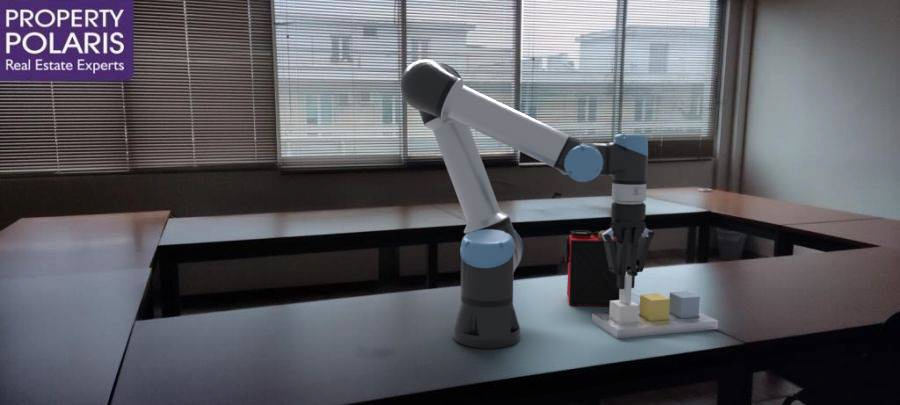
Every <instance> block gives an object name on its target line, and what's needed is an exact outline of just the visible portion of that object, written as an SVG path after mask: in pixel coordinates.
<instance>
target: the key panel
mask: <svg viewBox="0 0 900 405" xmlns="http://www.w3.org/2000/svg"><path fill="white" fill-rule="evenodd" d="M639 313H640V308H639ZM591 322H592V323H594V324H595V325H596V326H598V327H600V328H601V329H602V330H604V331H605V332H607V333H608V334H610V335H611V336H612V337H614V338H615V339H627V338H636V337H647V336H657V335H658V336H659V335H667V334H668V335H671V334H680V333H690V332H701V331H702V332H703V331H711V330H718V328H719V327H718V326H719V320H717V319H715V318H714V317H711V316H710V315H706V314H704V313H703V312H701V311H699V317H693V318H682V319H681V318H679V317H677V316H675V315H673V314H671V313H669V320H660V321H649V320H647V319H646V318H644V317H642V316H640V315H639V318H638V323H630V324H617V323H616V322H614V321H613V320H611V319H610V318H609V311H604V312H594V313H593V312H592V313H591Z"/></svg>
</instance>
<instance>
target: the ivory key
mask: <svg viewBox="0 0 900 405" xmlns="http://www.w3.org/2000/svg"><path fill="white" fill-rule="evenodd" d="M639 309H640V304H638V303H636V302H634V301H632V300H631V303H630V304H624V303H623V302H621V301H619V300H612V301H610V306H609V310H608V312H609V318H610V319H611V320H613V321H614V322H616V323H617V324H630V323H638V318H639Z"/></svg>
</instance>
